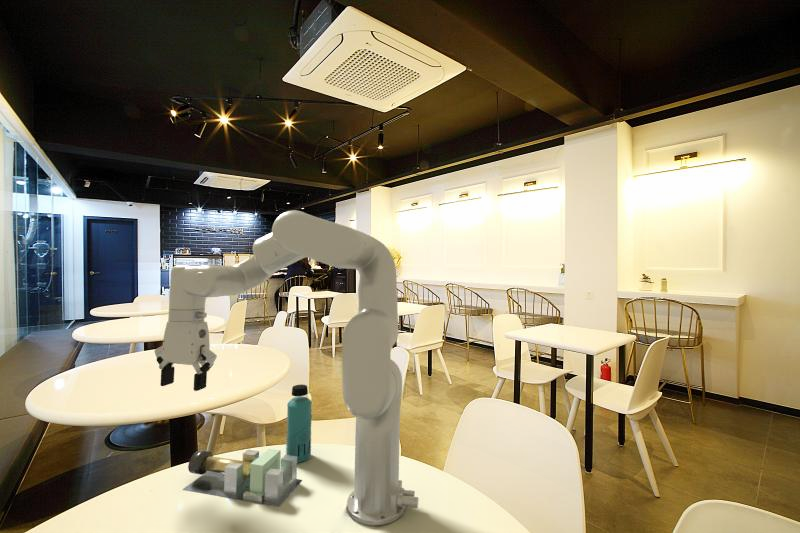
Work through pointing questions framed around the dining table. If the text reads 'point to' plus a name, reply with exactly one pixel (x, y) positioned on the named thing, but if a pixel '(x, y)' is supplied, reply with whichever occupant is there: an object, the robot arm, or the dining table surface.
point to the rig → (238, 487)
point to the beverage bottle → (299, 424)
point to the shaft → (213, 464)
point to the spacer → (263, 469)
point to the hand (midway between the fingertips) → (183, 386)
